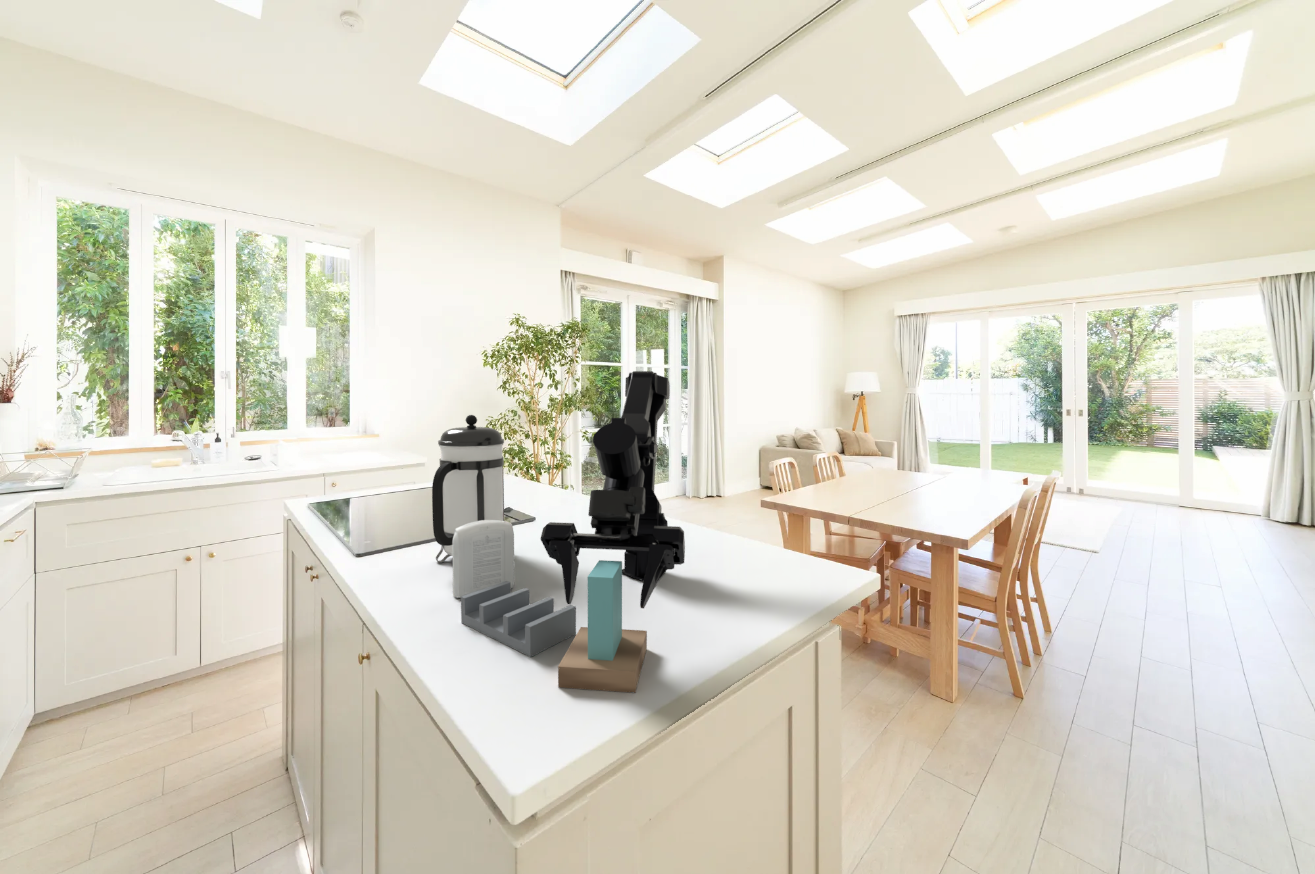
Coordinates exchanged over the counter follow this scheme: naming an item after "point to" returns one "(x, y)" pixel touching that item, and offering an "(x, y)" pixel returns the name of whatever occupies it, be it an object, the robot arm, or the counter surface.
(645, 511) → the robot arm
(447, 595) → the counter surface
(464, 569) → the grey rounded slab
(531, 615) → the rack
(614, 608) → the thick teal slab
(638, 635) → the brown block
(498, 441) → the coffee press
